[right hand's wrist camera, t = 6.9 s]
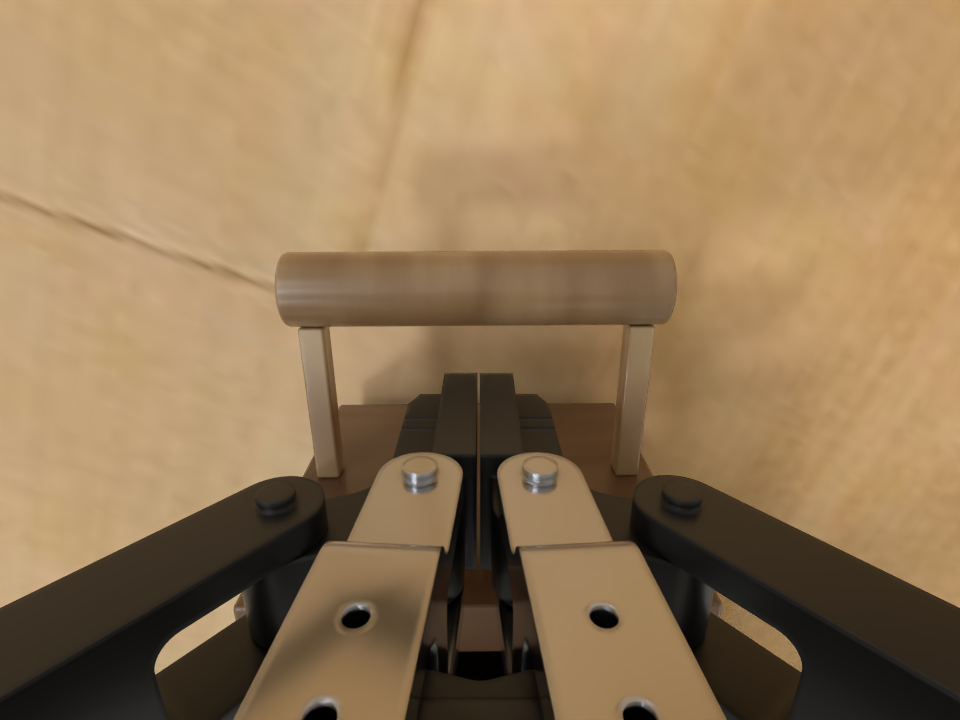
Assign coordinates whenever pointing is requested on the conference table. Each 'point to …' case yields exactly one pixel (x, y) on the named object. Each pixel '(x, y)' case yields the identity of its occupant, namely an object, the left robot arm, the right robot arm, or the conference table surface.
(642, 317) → the drawer
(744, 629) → the conference table surface
